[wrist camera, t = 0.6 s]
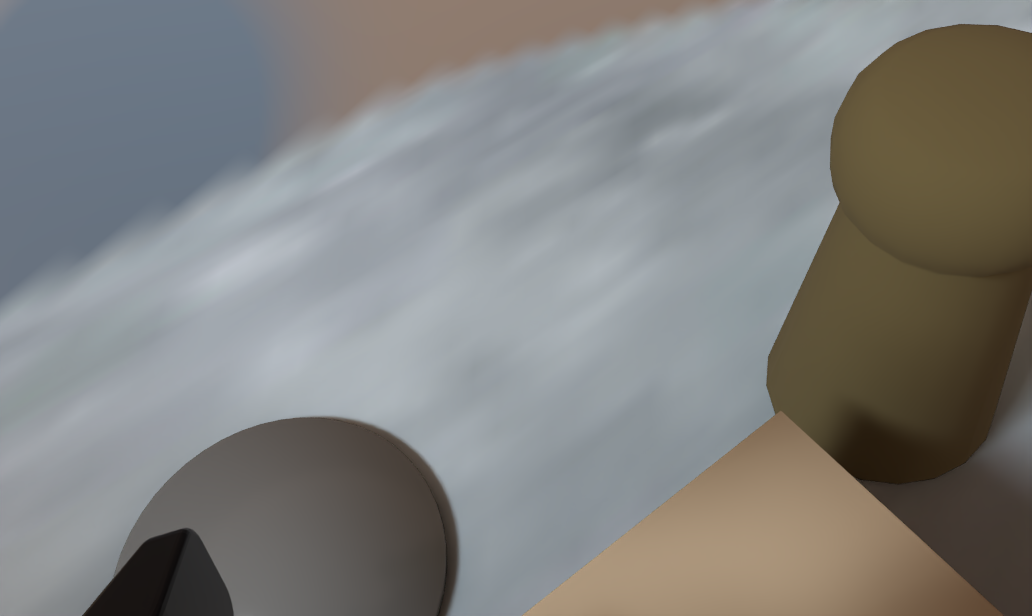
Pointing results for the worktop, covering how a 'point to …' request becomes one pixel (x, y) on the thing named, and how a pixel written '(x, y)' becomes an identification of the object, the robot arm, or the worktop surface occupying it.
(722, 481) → the lid
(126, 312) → the worktop surface
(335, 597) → the slate coaster
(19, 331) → the worktop surface
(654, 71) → the worktop surface
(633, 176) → the worktop surface
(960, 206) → the cork
